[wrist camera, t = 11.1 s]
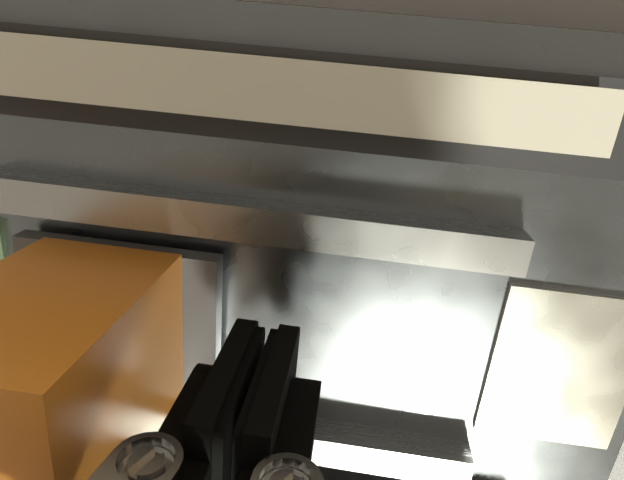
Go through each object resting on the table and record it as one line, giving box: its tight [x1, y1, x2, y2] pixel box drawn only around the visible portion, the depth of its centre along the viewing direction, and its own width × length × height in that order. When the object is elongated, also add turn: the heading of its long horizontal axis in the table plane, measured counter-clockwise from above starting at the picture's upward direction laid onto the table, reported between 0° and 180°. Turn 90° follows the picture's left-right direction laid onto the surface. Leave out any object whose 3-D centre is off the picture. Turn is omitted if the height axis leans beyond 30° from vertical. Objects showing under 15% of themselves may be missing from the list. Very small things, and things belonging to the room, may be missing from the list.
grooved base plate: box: [0, 22, 624, 181], centre depth 13 cm, size 19×16×3 cm
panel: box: [0, 0, 624, 480], centre depth 15 cm, size 24×18×3 cm
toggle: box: [0, 229, 223, 480], centre depth 12 cm, size 6×5×7 cm
